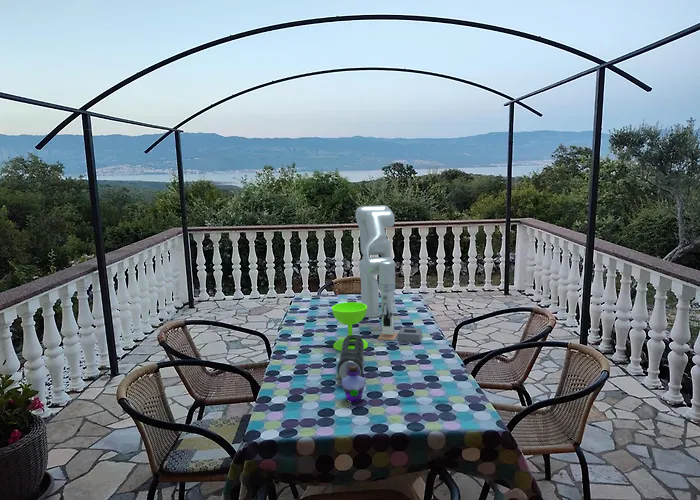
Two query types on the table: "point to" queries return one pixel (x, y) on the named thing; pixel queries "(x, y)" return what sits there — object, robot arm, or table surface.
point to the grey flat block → (410, 334)
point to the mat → (388, 336)
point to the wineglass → (349, 319)
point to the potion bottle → (353, 384)
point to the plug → (385, 328)
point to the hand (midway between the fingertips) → (387, 324)
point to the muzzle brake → (351, 355)
